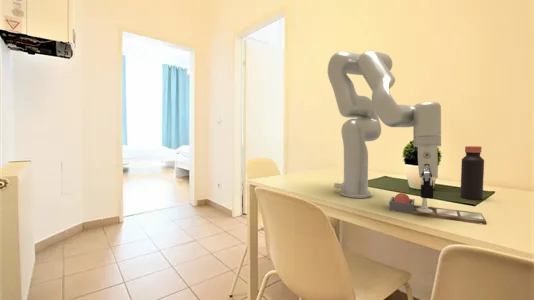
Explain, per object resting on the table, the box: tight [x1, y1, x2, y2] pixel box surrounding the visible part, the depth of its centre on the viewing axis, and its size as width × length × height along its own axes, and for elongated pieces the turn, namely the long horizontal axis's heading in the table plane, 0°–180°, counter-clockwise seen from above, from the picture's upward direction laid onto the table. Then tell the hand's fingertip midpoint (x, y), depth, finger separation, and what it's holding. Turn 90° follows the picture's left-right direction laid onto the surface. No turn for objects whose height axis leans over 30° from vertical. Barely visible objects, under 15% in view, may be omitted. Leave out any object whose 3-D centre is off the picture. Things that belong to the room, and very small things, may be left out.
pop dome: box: [394, 192, 411, 203], centre depth 88 cm, size 5×5×5 cm
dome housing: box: [388, 196, 416, 215], centre depth 88 cm, size 7×7×3 cm
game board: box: [412, 204, 487, 225], centre depth 82 cm, size 18×9×1 cm, turn 58°
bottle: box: [460, 145, 485, 201], centre depth 101 cm, size 7×7×20 cm
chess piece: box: [415, 198, 434, 214], centre depth 84 cm, size 5×5×10 cm
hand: (427, 194), depth 84 cm, fingers open, 9 cm apart
